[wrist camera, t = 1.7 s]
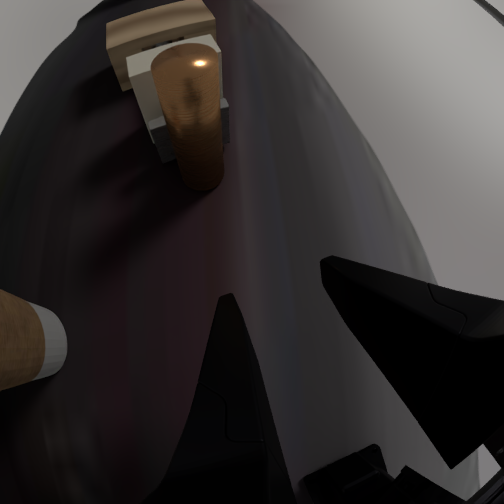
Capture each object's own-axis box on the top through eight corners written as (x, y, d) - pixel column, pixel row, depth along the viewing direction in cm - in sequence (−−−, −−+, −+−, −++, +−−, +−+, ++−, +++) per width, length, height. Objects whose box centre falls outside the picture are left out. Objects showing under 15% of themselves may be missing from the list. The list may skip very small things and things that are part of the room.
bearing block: (217, 63, 28) (215, 19, 22) (122, 91, 26) (106, 49, 20) (202, 36, 30) (199, -3, 24) (119, 61, 28) (106, 23, 22)
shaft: (244, 178, 24) (251, 65, 12) (173, 201, 23) (130, 97, 11) (183, 40, 29) (174, -36, 18) (137, 53, 28) (118, -21, 17)
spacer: (223, 121, 26) (221, 51, 17) (153, 143, 25) (128, 77, 16) (214, 101, 26) (210, 34, 18) (148, 121, 25) (126, 57, 17)
